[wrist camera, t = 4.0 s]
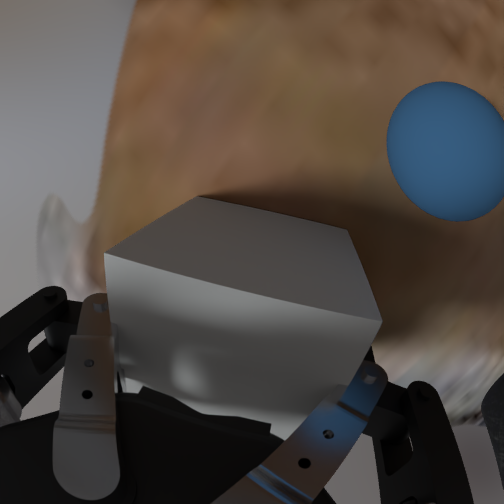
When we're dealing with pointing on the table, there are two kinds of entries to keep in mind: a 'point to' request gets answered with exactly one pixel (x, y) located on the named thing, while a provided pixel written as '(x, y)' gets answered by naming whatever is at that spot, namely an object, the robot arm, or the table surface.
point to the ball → (448, 151)
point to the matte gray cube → (240, 311)
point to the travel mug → (496, 421)
